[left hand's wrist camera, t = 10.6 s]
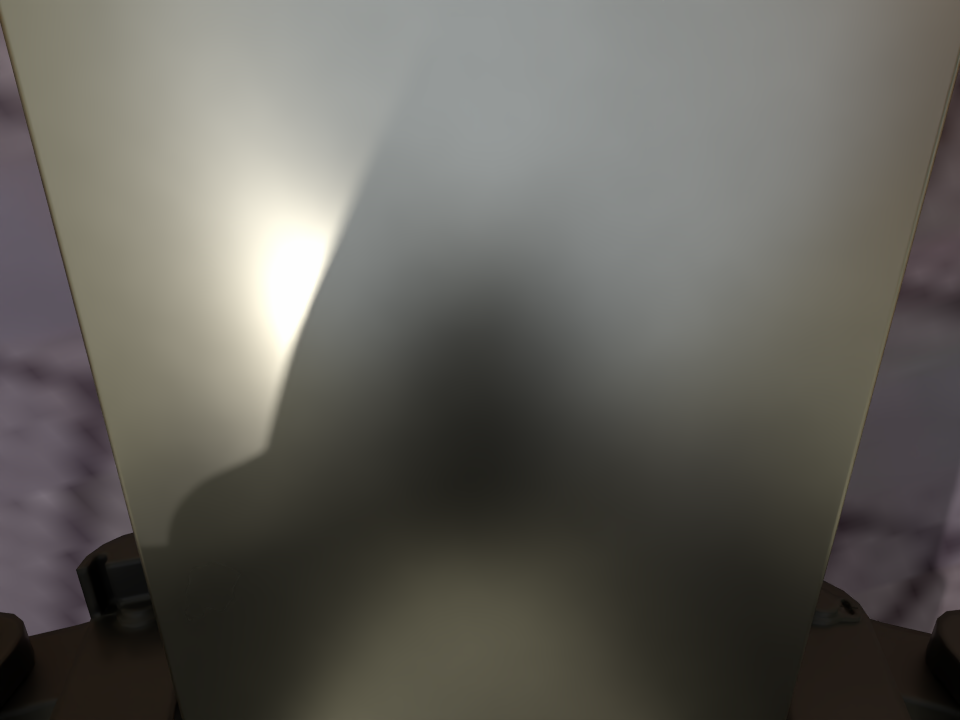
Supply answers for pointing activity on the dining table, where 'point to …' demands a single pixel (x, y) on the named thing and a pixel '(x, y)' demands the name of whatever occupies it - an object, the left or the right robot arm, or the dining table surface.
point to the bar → (484, 331)
